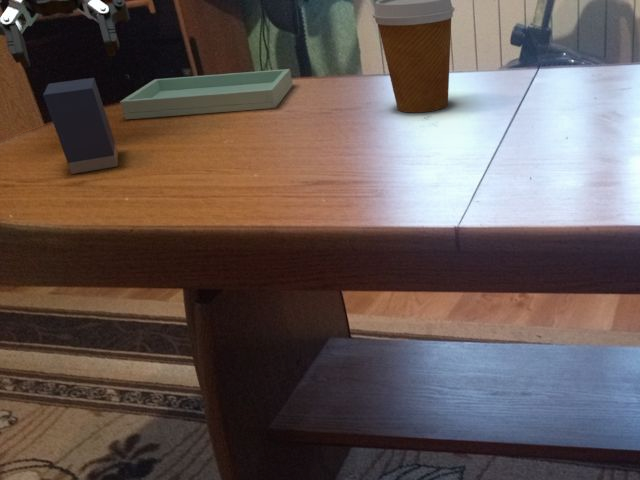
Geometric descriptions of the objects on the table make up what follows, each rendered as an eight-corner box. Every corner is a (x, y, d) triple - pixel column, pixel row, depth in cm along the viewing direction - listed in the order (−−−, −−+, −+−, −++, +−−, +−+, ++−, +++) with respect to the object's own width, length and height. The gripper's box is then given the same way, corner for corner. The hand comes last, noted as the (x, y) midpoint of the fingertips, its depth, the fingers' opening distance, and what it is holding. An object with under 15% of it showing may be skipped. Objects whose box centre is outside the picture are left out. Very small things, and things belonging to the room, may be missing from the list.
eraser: (74, 159, 80) (48, 83, 76) (118, 152, 82) (94, 77, 77) (71, 174, 76) (42, 94, 71) (117, 166, 77) (92, 87, 73)
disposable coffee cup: (456, 114, 86) (448, 2, 79) (377, 117, 87) (362, 7, 81) (465, 95, 94) (458, -9, 87) (392, 98, 95) (380, -4, 89)
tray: (125, 119, 95) (119, 101, 94) (158, 95, 107) (154, 79, 105) (275, 108, 95) (272, 89, 94) (293, 85, 106) (290, 68, 105)
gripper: (112, -48, 87) (144, 69, 84) (-22, -36, 83) (6, 88, 80) (96, -102, 80) (130, 24, 77) (-51, -92, 76) (-21, 42, 73)
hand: (67, 56), depth 78 cm, fingers open, 8 cm apart
